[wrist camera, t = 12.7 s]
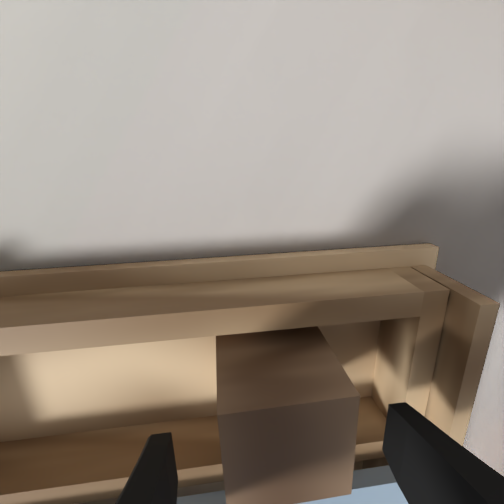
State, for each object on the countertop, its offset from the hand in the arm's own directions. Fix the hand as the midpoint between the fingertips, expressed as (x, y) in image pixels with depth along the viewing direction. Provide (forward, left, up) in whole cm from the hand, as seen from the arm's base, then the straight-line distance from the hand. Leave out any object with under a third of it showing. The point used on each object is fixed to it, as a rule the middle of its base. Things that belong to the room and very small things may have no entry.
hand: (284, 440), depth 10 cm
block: (0, 0, -4) cm, 4 cm away
